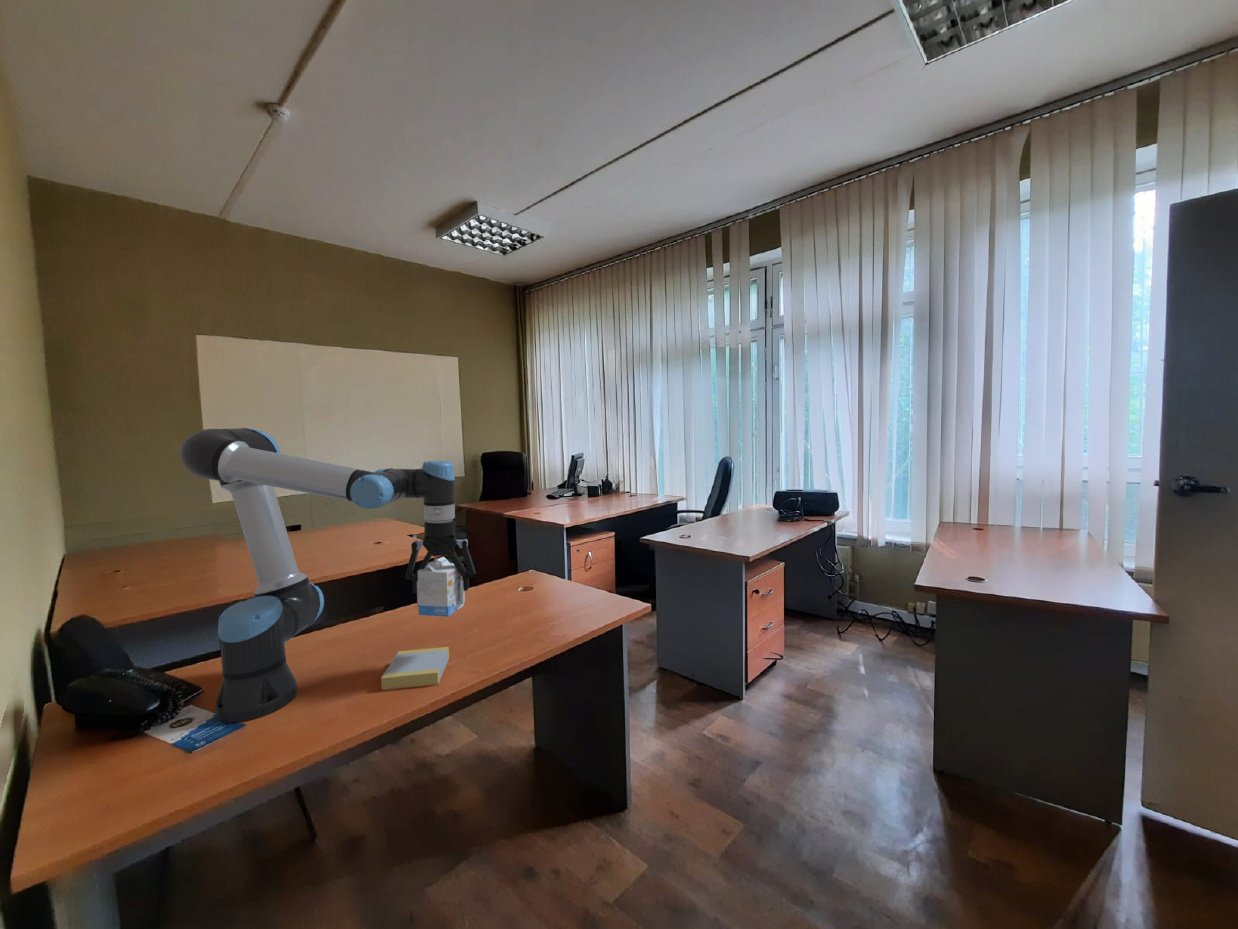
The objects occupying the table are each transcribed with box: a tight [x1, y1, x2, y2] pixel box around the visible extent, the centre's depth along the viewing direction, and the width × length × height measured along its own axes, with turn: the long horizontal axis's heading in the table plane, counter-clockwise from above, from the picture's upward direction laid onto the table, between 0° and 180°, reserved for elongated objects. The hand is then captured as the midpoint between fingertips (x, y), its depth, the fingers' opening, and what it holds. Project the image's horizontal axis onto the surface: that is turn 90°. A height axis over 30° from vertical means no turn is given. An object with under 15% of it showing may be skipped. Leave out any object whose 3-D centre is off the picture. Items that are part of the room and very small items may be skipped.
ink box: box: [417, 556, 465, 618], centre depth 124 cm, size 9×8×13 cm
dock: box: [380, 646, 450, 691], centre depth 122 cm, size 13×14×3 cm
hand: (441, 603), depth 125 cm, fingers closed on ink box, 10 cm apart
